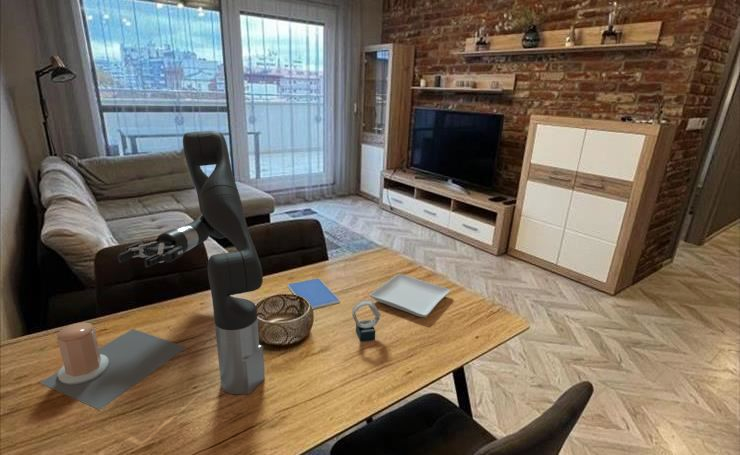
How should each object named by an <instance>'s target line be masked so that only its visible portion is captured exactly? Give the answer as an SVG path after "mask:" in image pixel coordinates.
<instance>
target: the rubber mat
mask: <svg viewBox="0 0 740 455" xmlns="http://www.w3.org/2000/svg"><path fill="white" fill-rule="evenodd" d="M186 348H187V349H188V347H187V346H184V345H182V344H179V343H176V342H173V341H170V340H167V339H163V338H162V337H159V336H155V335H152V334H149V333H146V332H143V331H140V330H137V329H134V328H132V329H130V330H128V331H126V332H125V333H123V334H122V335H120V336H118V337H116V338H115V339H113V340H111V341H109V342H108V343H106V344H104V345H102V346H101V347H99V352H100V354H102V355H105V356H106V357H107V358H108V361H109V366H108V368H107V370H106V371H105V372H104V373H103V374H101V375H100V376H98V377H97V378H95V379H93V380H91V381H88V382H85V383H81V384H76V385H66V384H63V383H61V382H60V381H59V378H58V372H59V371H57V372H55V373H54V374H51V376H48V377H47V378H45V379H43V380H41V381H40V382H39V384H41V385H43V386H45V387H47V388H49V389H51V390H54V391H56V392H58V393H60V394H62V395H65V396H67V397H70V398H72V399H74V400H76V401H78V402H80V403H83V404H84V405H87V406H89V407H92V408H94V409H96V410H98V411H100V410H101V409H103V408H104V407H106V406H108V405H109V404H110V403H111V402H113V401H114V400H116V399H117V398H118V397H119V396H121V395H123V394H124V393H126V392H127V391H128V390H130V389H131V388H132V387H134V386H135V385H136V384H138V383H140V382H141V381H142V380H144V379H145V378H146V377H147V376H149V375H151V374H152V373H153V372H155V371H156V370H157V369H159V368H160V367H161V366H163V365H164V364H166V363H167V362H169V361H170V360H172V359H173V358H174V357H176V355H179V353H181V352H183V351H184V350H185V349H186Z"/></svg>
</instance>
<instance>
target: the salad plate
mask: <svg viewBox="0 0 740 455" xmlns="http://www.w3.org/2000/svg"><path fill="white" fill-rule="evenodd" d="M450 293H451V289H450V288H446V287H444V286H442V285H441V286H440V285H437V284H434V283H431V282H429V281H425V280H421V279H418V278H415V277H411V276H408V275H405V274H402V273H398V274H396V275H394V276H393V277H392V278H390V279H388V281H386V282H384V283H383V284H382V285H380V286H379V287H378V288H376V289H375V290H374V291H372V292H371V293H369V296H370V297H369V298H372V299H373V300H375V301H376V302H378V303H381V304H384V305H387V306H389V307H391V308H395V309H397V310H401V311H403V312H406V313H409V314H412V315H413V316H417V317H420V318H425V317H427V316H428V315H429V314H430V313H432V311H433V310H434V308H435V307H436V306H437V305H438V304H439V303H440V302H441V301H442V300H443V299H444V298H446V296H447V295H448V294H450Z"/></svg>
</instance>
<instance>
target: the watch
mask: <svg viewBox="0 0 740 455" xmlns="http://www.w3.org/2000/svg"><path fill="white" fill-rule="evenodd" d="M366 306H368V307H369V309H370V310H371V312H372V314H373V316H375V317H373V319H372V320H362V321H360V320H359V319H358V318H357V315H356V314H357V311H358V310H359V309H361V308H362V307H366ZM352 318H353V320H354V322H355V333H356V335H357V337H358V339H359V342H360V343H362V342H363V343H364V342H365V343H366V342H372V341H376V328H375V327H374V326H376V325H377V324H378V323H379V321H380V319H381V313H380V311H379V309H378V308H377V306H376V304H375V303H374V302H373V301H372V300H371V301H370V300H369V299H368V300H367V299H366V300H361V301H359V302H358V303H356V304H355V305H354V307H353V308H352Z"/></svg>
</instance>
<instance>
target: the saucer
mask: <svg viewBox="0 0 740 455" xmlns="http://www.w3.org/2000/svg"><path fill="white" fill-rule="evenodd" d="M100 356H101V363H100V366H99V367H98V368H97V369H95V370H94V371H92V372H90V373H89V374H85V375H80V376H76V377H73V376H71V375H68V374H66V371H65V367H64V365H62V366H61V368H60V369H59V370H58V371H57V372H58V378H59V381H60V382H61V383H63V384H66V385H76V384H81V383H85V382H88V381H91V380H93V379H95V378H97V377H98V376H100V375H101V374H103V373H104V372H105V371H106V370H107V368H108V366H109V361H108V358H107V357H106V356H105V355H102V354H100Z"/></svg>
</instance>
